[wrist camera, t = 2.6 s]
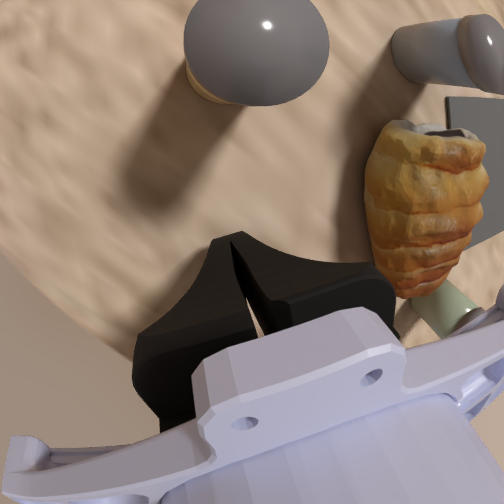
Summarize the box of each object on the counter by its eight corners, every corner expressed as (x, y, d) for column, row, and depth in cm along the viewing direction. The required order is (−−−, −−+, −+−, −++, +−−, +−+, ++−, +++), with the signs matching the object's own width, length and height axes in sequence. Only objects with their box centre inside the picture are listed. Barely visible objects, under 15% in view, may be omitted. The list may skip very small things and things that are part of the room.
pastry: (439, 269, 17) (477, 303, 13) (350, 296, 16) (383, 343, 13) (456, 119, 12) (510, 134, 9) (352, 118, 11) (406, 129, 8)
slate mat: (515, 222, 17) (516, 223, 17) (442, 258, 16) (444, 260, 16) (522, 101, 12) (524, 101, 12) (446, 96, 12) (448, 96, 11)
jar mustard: (277, 97, 10) (340, 95, 6) (194, 115, 10) (202, 121, 6) (259, 22, 9) (312, -25, 4) (175, 38, 9) (170, -10, 4)
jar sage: (439, 301, 18) (482, 343, 14) (406, 318, 18) (449, 366, 14) (446, 264, 17) (497, 306, 13) (412, 280, 17) (463, 330, 12)
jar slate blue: (440, 85, 11) (518, 96, 7) (395, 85, 11) (481, 92, 7) (430, 28, 10) (508, 24, 5) (383, 21, 9) (465, 5, 5)
